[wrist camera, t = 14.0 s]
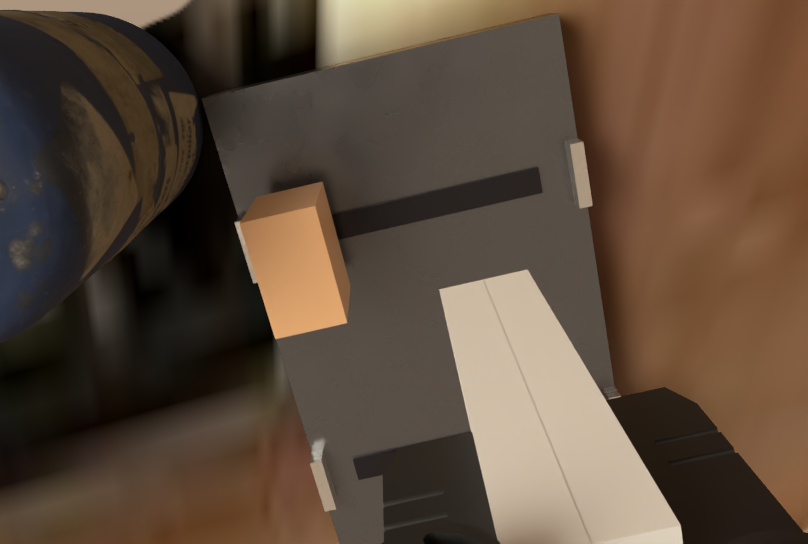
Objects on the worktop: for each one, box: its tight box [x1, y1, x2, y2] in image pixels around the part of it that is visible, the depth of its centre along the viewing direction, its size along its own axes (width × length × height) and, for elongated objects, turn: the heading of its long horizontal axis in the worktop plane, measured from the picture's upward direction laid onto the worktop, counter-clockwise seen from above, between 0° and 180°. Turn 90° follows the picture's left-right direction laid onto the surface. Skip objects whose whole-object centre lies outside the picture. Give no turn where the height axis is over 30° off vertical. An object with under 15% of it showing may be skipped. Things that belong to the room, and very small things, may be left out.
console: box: [202, 13, 621, 544], centre depth 37 cm, size 16×26×3 cm, turn 13°
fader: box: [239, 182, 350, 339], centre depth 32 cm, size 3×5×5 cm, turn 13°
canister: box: [0, 10, 203, 343], centre depth 27 cm, size 10×10×18 cm
